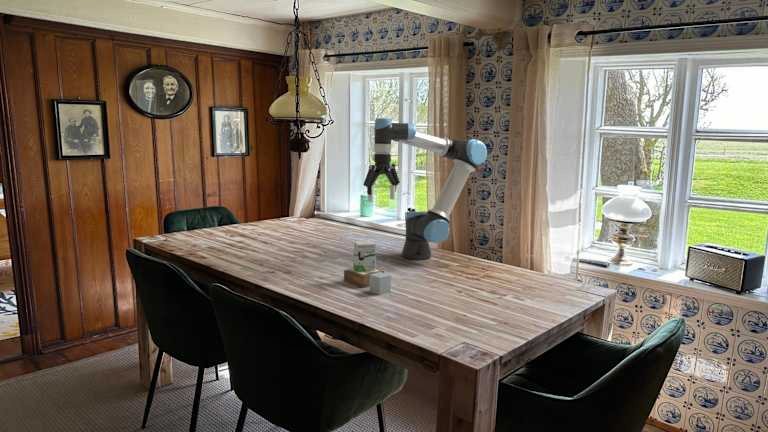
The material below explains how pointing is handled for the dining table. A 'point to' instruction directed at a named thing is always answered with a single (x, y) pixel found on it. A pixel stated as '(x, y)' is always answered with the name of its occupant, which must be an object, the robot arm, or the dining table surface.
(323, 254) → the dining table surface
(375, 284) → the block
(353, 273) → the pedestal
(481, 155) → the robot arm
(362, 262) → the ink box
